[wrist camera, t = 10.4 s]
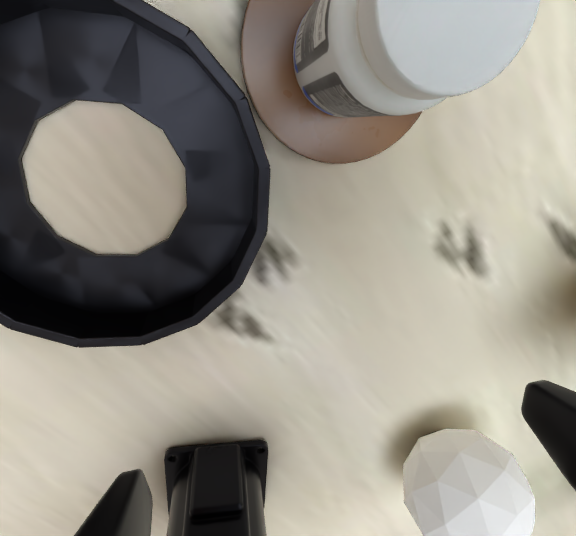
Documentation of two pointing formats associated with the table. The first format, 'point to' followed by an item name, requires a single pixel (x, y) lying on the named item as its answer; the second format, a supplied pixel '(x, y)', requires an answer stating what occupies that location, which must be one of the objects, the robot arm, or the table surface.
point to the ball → (466, 487)
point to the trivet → (290, 99)
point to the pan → (183, 137)
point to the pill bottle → (404, 51)
